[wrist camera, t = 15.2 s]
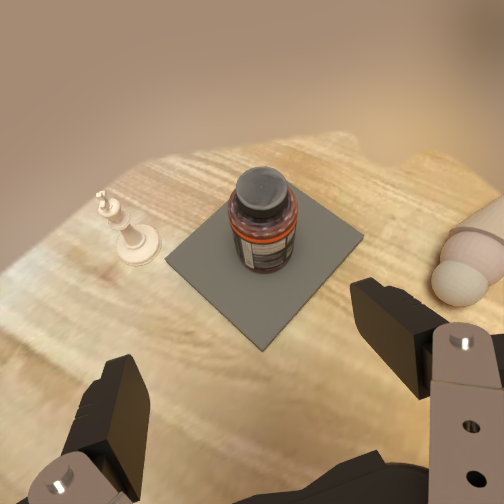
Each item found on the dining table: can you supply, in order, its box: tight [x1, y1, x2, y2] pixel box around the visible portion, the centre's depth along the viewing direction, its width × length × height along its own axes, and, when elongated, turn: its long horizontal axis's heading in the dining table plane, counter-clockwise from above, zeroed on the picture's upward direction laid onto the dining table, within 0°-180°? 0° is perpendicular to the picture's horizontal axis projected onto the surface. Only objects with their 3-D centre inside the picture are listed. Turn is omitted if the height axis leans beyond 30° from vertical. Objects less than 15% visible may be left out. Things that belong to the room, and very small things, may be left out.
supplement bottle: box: [228, 167, 298, 273], centre depth 32 cm, size 6×6×11 cm
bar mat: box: [165, 166, 364, 352], centre depth 37 cm, size 16×14×1 cm
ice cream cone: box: [431, 194, 504, 307], centre depth 33 cm, size 6×6×15 cm
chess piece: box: [96, 191, 161, 266], centre depth 34 cm, size 5×5×10 cm
